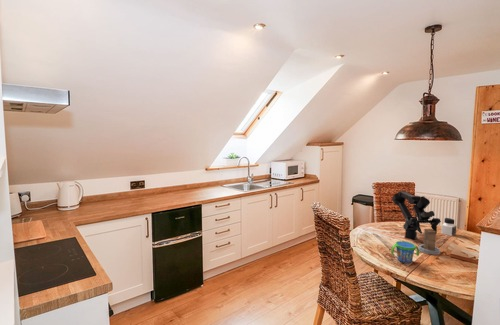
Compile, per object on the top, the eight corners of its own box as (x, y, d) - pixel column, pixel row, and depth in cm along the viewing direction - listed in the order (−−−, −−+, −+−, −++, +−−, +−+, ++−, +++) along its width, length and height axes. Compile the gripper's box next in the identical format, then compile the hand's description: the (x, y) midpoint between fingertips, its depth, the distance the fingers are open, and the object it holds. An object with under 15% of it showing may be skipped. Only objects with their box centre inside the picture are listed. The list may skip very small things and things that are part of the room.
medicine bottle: (451, 236, 203) (452, 220, 202) (441, 233, 209) (442, 218, 208) (456, 234, 207) (457, 218, 206) (445, 231, 213) (446, 216, 212)
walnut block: (423, 248, 181) (424, 229, 180) (430, 248, 181) (431, 229, 180) (427, 251, 177) (428, 231, 175) (434, 251, 176) (436, 231, 175)
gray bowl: (415, 250, 179) (415, 247, 179) (421, 245, 187) (421, 242, 187) (437, 256, 170) (437, 253, 170) (442, 250, 179) (442, 247, 179)
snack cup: (414, 257, 170) (415, 241, 169) (422, 265, 159) (423, 248, 158) (387, 256, 172) (388, 240, 171) (394, 263, 162) (394, 247, 161)
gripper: (411, 206, 183) (419, 228, 173) (440, 206, 182) (450, 228, 172) (404, 214, 192) (412, 235, 182) (432, 214, 191) (441, 235, 181)
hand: (428, 233), depth 179 cm, fingers open, 9 cm apart
